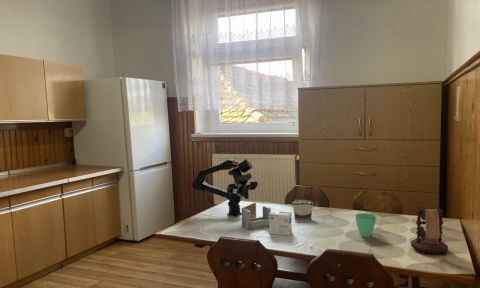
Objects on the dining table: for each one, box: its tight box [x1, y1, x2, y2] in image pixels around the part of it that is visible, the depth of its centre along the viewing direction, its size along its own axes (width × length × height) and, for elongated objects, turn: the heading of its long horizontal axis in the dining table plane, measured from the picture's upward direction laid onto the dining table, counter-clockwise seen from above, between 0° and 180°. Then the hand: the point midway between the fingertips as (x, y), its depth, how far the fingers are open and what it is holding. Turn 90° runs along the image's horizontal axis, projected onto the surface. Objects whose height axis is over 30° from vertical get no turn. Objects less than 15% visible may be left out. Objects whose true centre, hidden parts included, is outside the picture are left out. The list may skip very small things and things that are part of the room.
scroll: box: [410, 205, 449, 254], centre depth 166 cm, size 15×15×20 cm
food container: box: [291, 199, 315, 220], centre depth 220 cm, size 12×6×10 cm, turn 84°
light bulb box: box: [268, 210, 293, 236], centre depth 194 cm, size 11×7×11 cm, turn 71°
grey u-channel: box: [241, 205, 272, 231], centre depth 205 cm, size 6×16×10 cm, turn 118°
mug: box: [355, 212, 377, 238], centre depth 189 cm, size 15×10×10 cm
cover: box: [241, 202, 257, 221], centre depth 211 cm, size 1×14×10 cm, turn 148°
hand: (247, 198), depth 217 cm, fingers closed
